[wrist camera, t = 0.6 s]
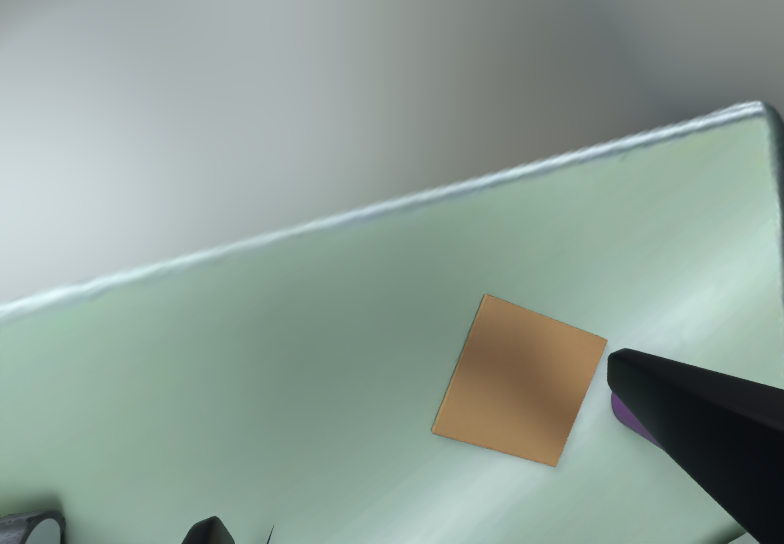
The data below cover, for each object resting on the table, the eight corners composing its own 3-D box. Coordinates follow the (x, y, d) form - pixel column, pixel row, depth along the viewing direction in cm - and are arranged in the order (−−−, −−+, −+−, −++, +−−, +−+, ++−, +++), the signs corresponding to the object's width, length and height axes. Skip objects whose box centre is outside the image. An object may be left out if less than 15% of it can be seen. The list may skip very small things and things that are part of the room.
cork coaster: (552, 464, 27) (555, 467, 27) (430, 430, 25) (432, 433, 25) (603, 338, 27) (608, 340, 27) (484, 293, 25) (487, 294, 25)
